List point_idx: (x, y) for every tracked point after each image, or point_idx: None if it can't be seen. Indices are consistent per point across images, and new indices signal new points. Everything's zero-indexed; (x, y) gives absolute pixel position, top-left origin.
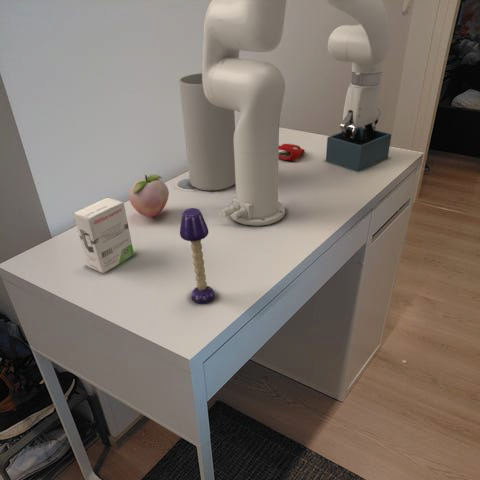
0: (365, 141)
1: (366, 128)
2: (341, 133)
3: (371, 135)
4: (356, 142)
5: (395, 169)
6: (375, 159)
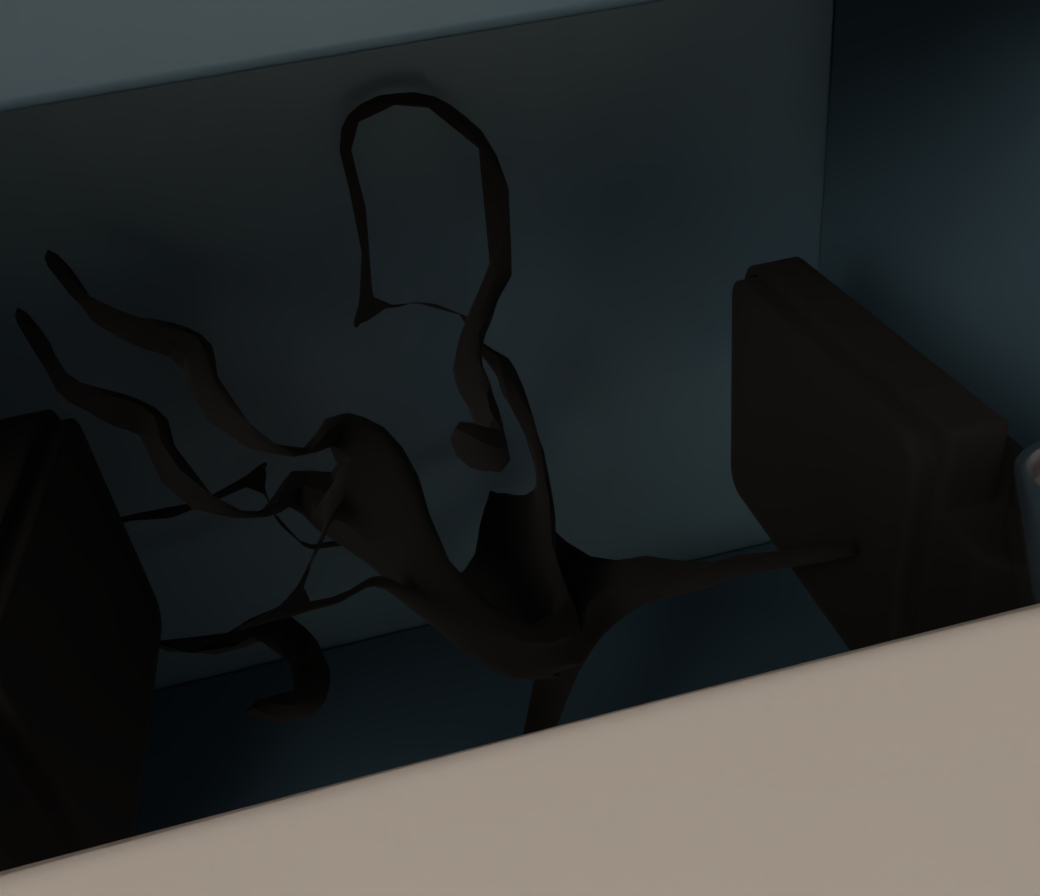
0: (535, 678)
1: (964, 565)
2: (136, 88)
3: (840, 628)
4: (477, 423)
5: None
6: None
